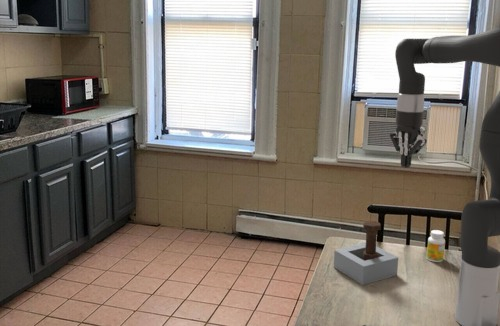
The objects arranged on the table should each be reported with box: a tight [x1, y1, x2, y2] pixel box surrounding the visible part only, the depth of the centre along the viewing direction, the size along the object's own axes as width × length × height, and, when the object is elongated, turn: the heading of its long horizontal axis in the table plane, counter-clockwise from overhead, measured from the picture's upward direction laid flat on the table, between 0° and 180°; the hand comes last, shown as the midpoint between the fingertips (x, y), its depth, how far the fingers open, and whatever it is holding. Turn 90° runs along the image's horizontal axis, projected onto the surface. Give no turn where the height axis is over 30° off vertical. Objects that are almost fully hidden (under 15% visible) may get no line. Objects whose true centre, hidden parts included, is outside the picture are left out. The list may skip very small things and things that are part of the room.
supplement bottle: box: [426, 229, 446, 263], centre depth 176 cm, size 5×5×10 cm
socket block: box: [333, 242, 399, 286], centre depth 167 cm, size 14×14×6 cm
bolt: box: [362, 220, 382, 261], centre depth 164 cm, size 6×5×15 cm
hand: (405, 167), depth 157 cm, fingers closed
